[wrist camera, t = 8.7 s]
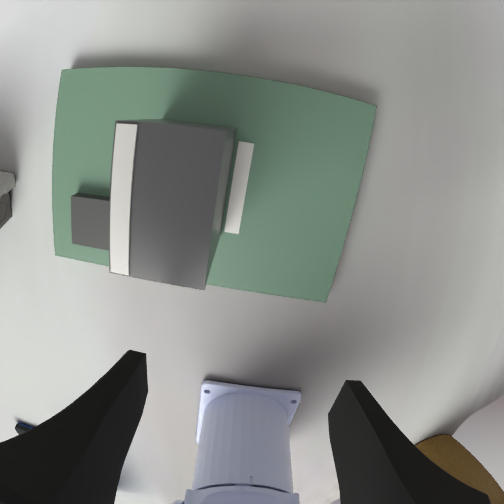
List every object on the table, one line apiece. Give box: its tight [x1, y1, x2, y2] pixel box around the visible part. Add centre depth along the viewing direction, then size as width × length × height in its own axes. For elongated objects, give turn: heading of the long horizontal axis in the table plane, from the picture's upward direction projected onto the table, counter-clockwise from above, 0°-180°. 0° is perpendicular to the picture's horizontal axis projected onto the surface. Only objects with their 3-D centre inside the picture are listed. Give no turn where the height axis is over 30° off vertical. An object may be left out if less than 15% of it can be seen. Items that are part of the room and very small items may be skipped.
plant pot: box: [415, 434, 504, 504], centre depth 22 cm, size 15×15×16 cm
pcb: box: [52, 67, 377, 302], centre depth 16 cm, size 12×18×4 cm, turn 80°
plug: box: [109, 119, 237, 290], centre depth 14 cm, size 6×4×6 cm, turn 170°
